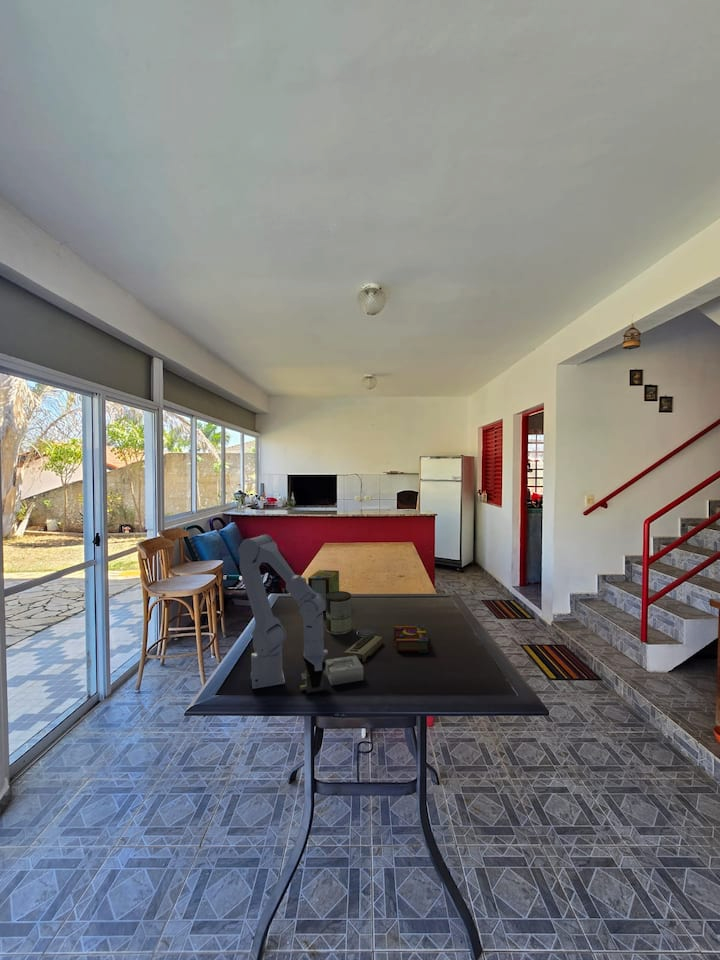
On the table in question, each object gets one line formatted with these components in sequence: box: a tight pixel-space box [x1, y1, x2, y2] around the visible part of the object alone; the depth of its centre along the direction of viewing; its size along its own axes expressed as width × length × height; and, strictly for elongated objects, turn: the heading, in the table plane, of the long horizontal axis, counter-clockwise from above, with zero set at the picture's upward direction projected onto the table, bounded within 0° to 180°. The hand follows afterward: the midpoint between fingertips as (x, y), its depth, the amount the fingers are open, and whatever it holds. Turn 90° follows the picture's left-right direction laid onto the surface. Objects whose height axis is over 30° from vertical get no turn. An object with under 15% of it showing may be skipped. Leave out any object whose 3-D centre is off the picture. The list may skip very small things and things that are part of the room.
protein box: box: [307, 569, 340, 611], centre depth 186 cm, size 10×15×16 cm
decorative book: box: [393, 623, 430, 654], centre depth 145 cm, size 11×16×5 cm
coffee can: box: [325, 590, 352, 635], centre depth 158 cm, size 10×10×14 cm
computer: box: [342, 635, 384, 663], centre depth 139 cm, size 16×8×3 cm, turn 152°
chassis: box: [325, 655, 364, 686], centre depth 122 cm, size 10×8×4 cm
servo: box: [299, 669, 328, 694], centre depth 115 cm, size 8×3×6 cm, turn 107°
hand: (314, 683), depth 115 cm, fingers closed on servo, 3 cm apart
